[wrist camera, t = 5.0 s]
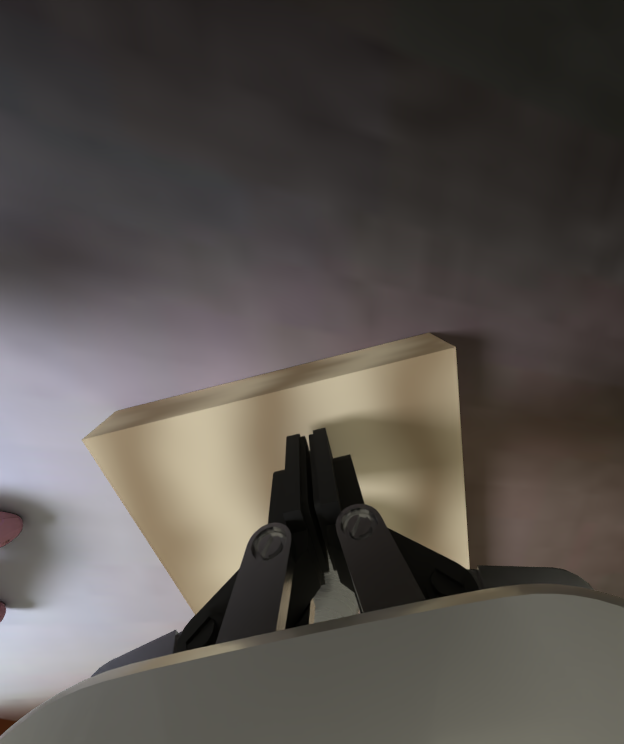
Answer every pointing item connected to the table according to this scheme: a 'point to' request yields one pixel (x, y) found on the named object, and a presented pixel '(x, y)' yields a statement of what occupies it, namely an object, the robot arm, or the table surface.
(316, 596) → the steel ball
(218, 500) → the hole board
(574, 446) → the table surface
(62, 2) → the table surface
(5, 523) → the video game controller
